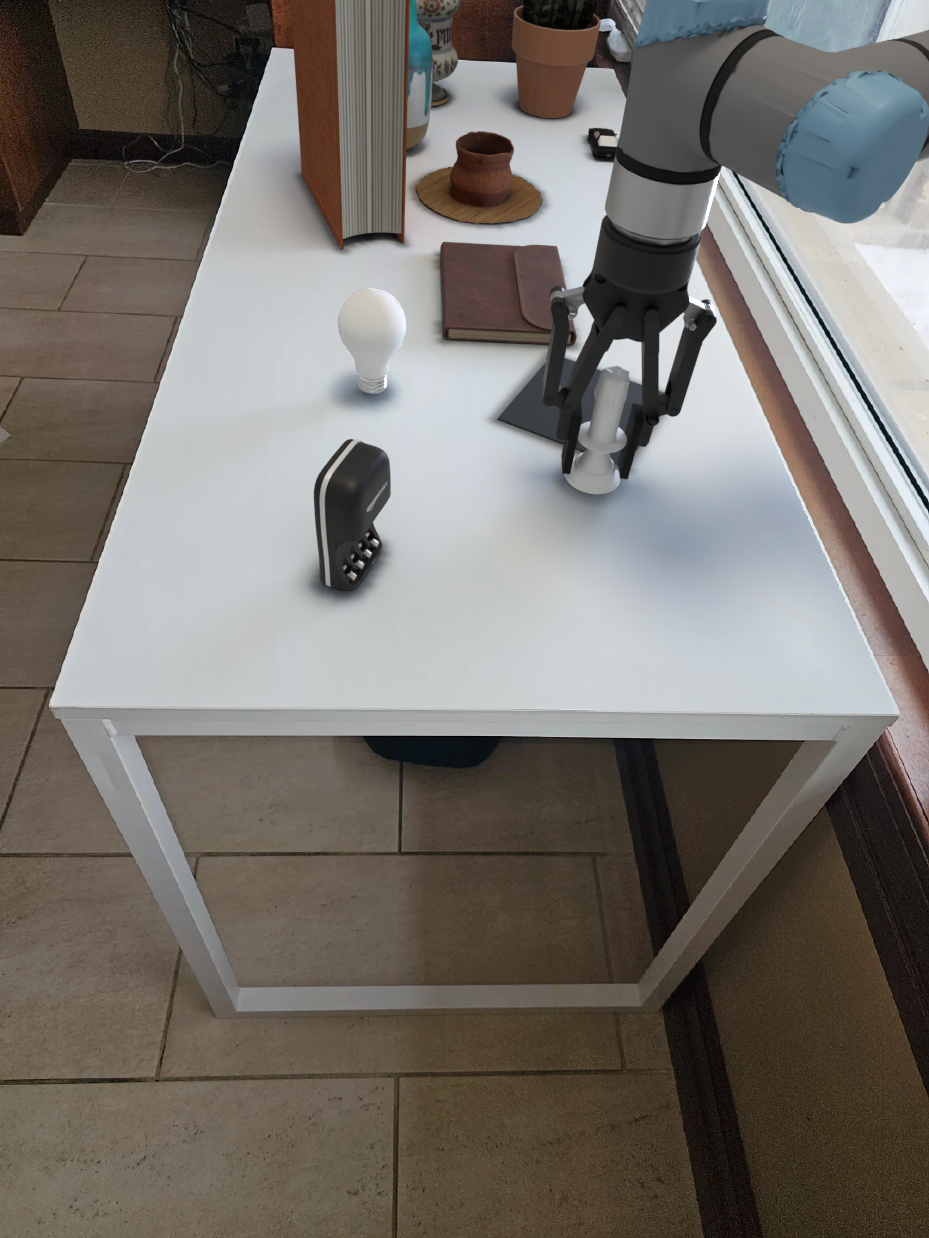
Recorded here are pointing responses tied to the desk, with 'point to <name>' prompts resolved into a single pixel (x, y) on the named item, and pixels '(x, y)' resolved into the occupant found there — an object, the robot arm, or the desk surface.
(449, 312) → the notebook
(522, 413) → the mat
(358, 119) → the book
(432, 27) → the apothecary jar
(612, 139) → the toy car
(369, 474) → the battery charger
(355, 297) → the light bulb
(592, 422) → the candle
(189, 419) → the desk surface
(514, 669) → the desk surface
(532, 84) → the potted plant
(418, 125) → the vase
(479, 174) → the ceramic pot
